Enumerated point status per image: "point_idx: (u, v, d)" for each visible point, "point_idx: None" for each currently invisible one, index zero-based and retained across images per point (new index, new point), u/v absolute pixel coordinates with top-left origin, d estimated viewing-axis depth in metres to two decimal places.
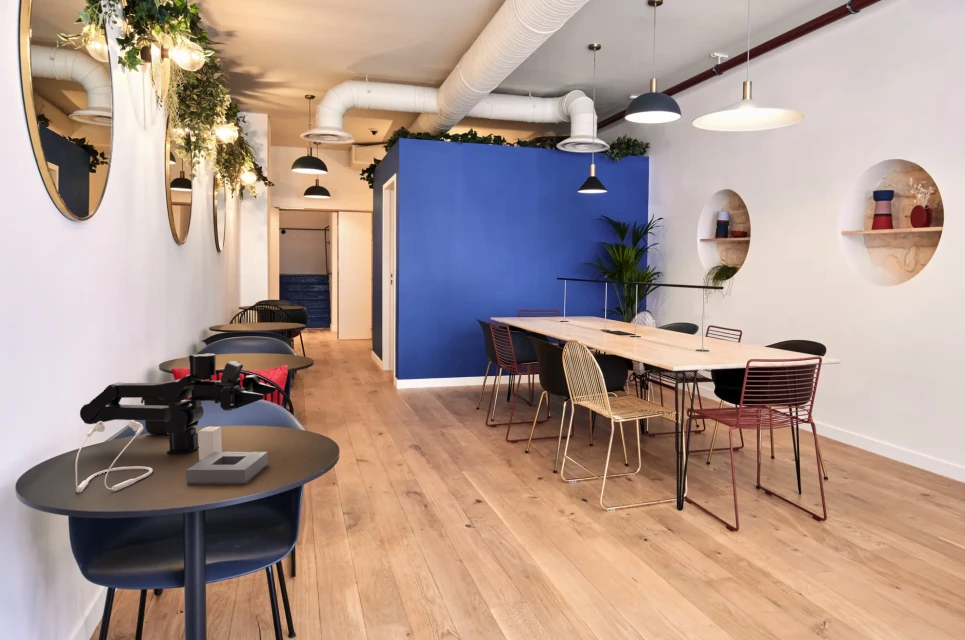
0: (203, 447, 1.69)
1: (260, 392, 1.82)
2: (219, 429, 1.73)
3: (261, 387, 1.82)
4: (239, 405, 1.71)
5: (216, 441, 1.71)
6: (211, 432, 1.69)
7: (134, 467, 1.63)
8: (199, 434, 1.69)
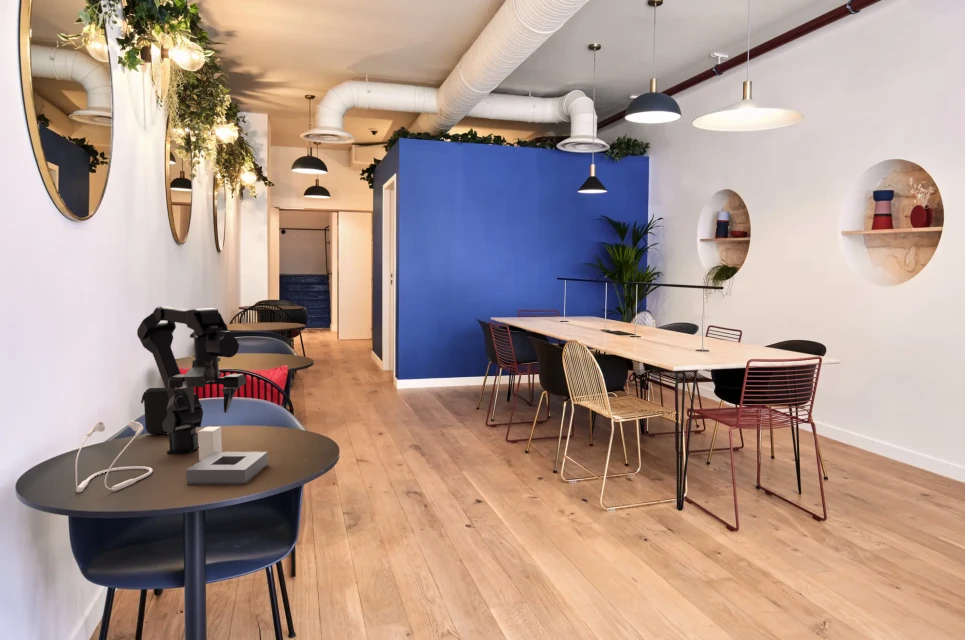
0: (203, 447, 1.69)
1: None
2: (219, 429, 1.73)
3: None
4: None
5: (216, 441, 1.71)
6: (211, 432, 1.69)
7: (134, 467, 1.63)
8: (199, 434, 1.69)
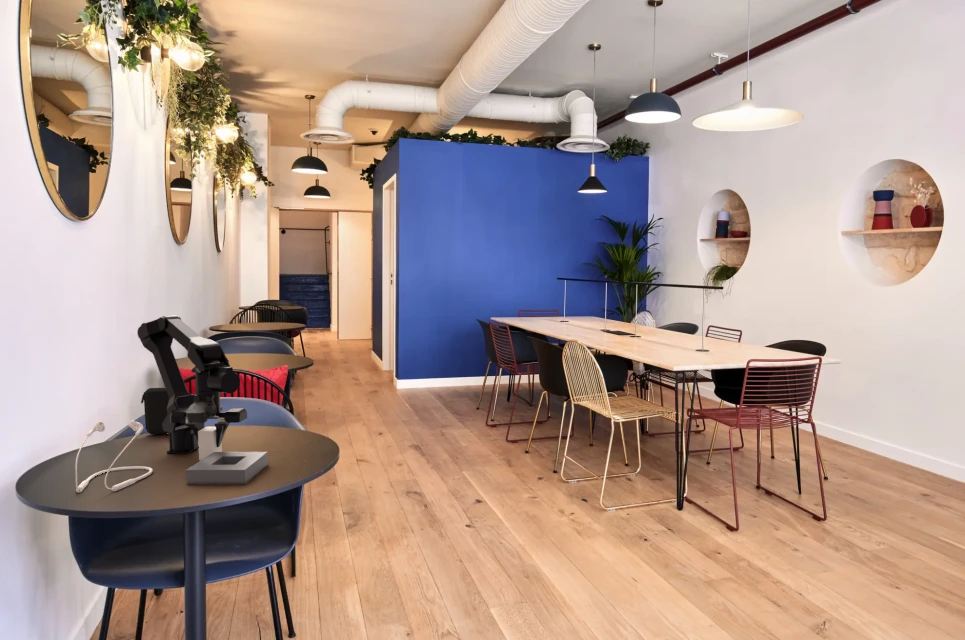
0: (203, 447, 1.69)
1: None
2: None
3: None
4: None
5: None
6: (211, 432, 1.69)
7: (134, 467, 1.63)
8: (199, 434, 1.69)
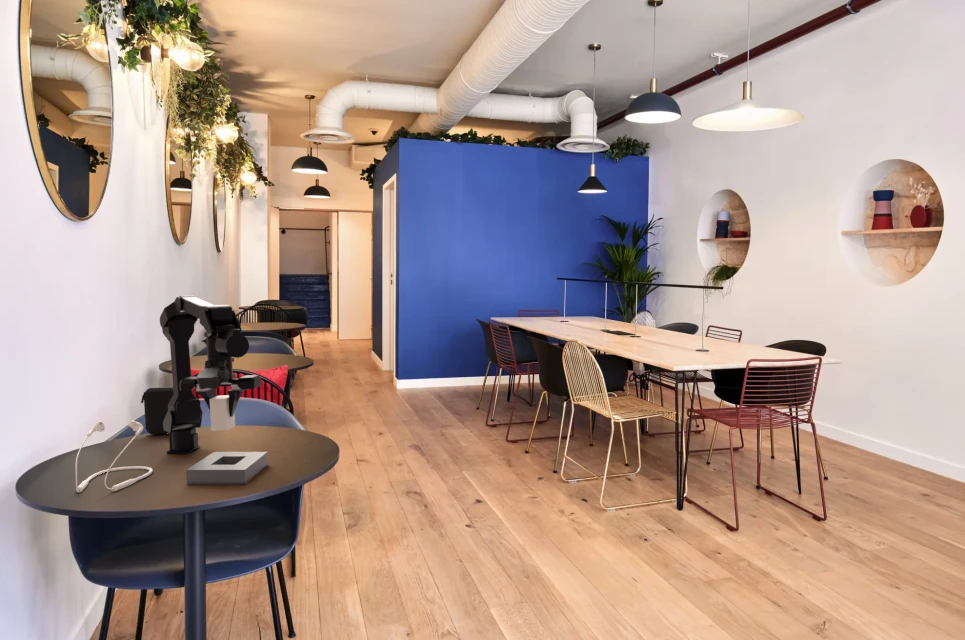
0: (215, 416, 1.58)
1: None
2: None
3: None
4: None
5: None
6: (224, 400, 1.57)
7: (134, 467, 1.62)
8: (211, 402, 1.58)
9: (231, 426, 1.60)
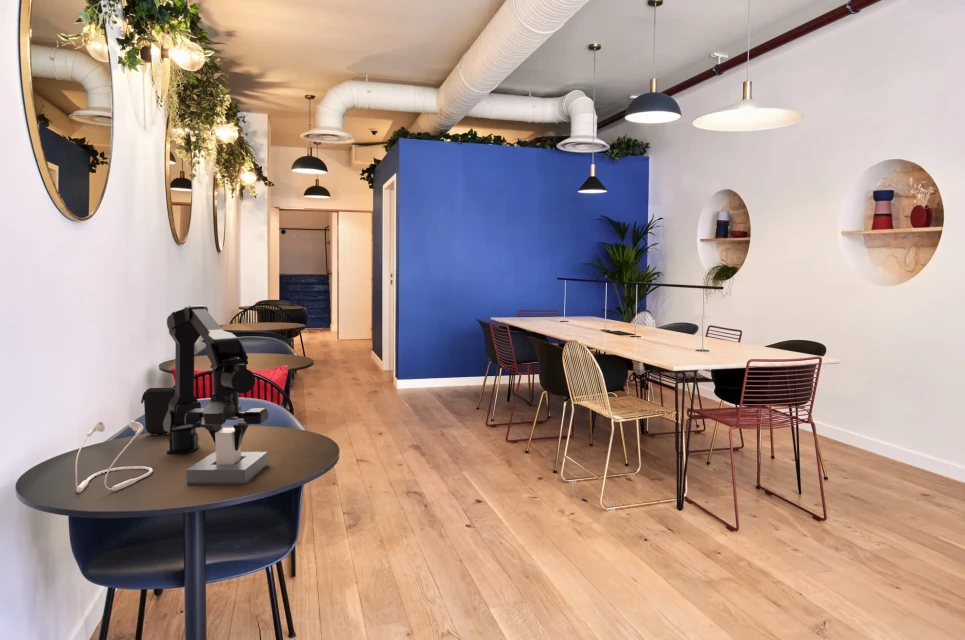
0: (220, 450, 1.55)
1: None
2: None
3: None
4: None
5: None
6: (229, 434, 1.54)
7: (134, 467, 1.62)
8: (216, 436, 1.54)
9: (236, 460, 1.58)
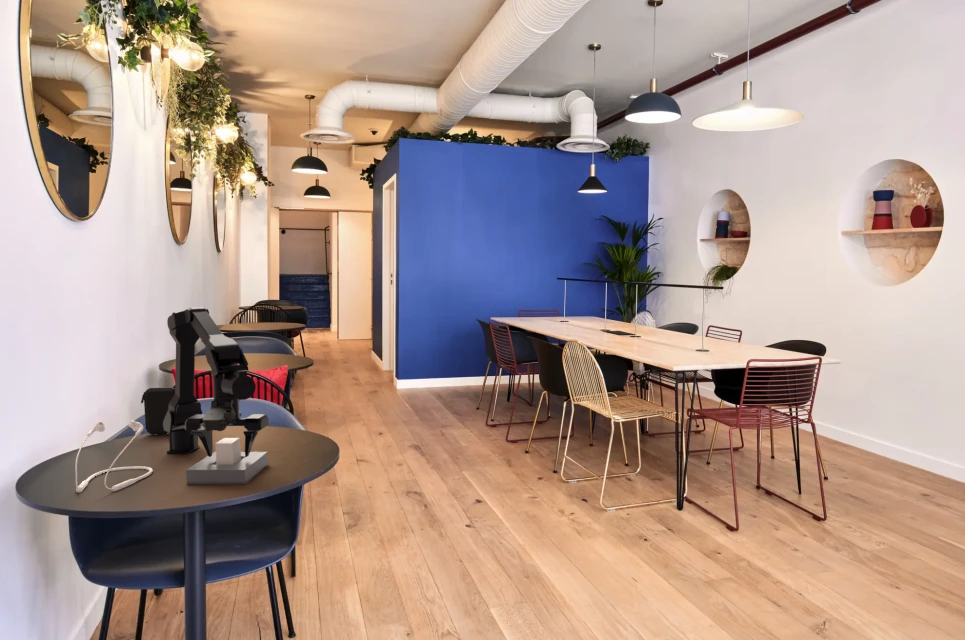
0: (221, 461, 1.55)
1: None
2: (238, 441, 1.59)
3: None
4: None
5: (235, 454, 1.57)
6: (230, 444, 1.54)
7: (134, 467, 1.62)
8: (217, 446, 1.55)
9: None
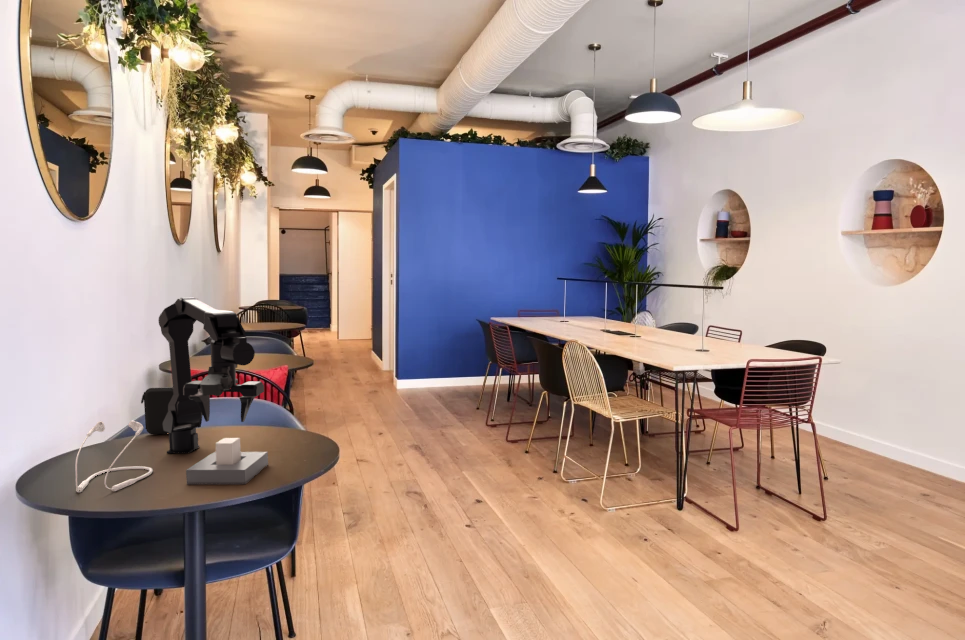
0: (221, 461, 1.55)
1: None
2: (238, 441, 1.59)
3: None
4: None
5: (235, 454, 1.57)
6: (230, 444, 1.54)
7: (134, 467, 1.62)
8: (217, 446, 1.55)
9: None
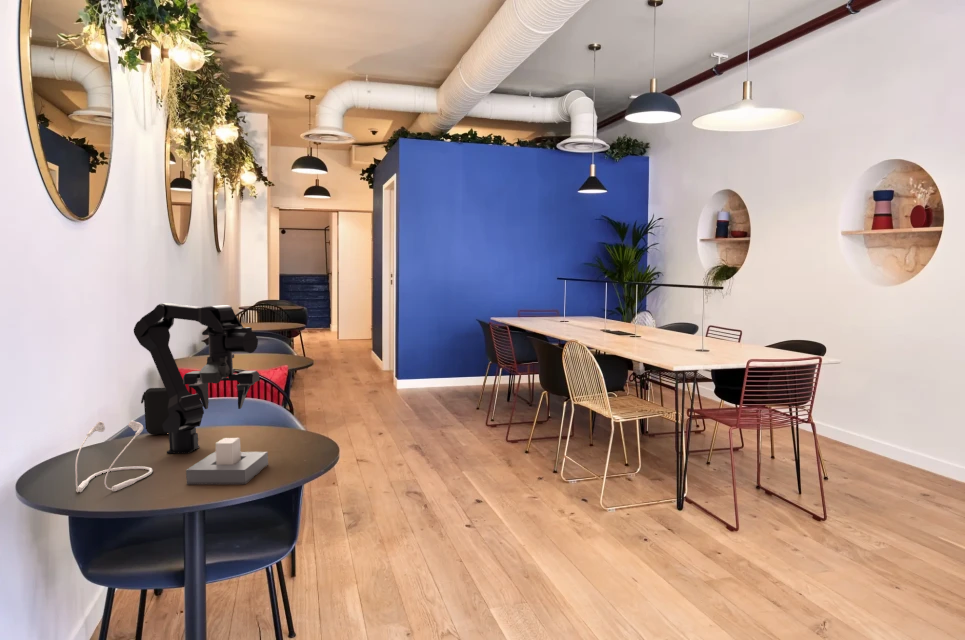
0: (221, 461, 1.55)
1: None
2: (238, 441, 1.59)
3: None
4: None
5: (235, 454, 1.57)
6: (230, 444, 1.54)
7: (134, 467, 1.62)
8: (217, 446, 1.55)
9: None
